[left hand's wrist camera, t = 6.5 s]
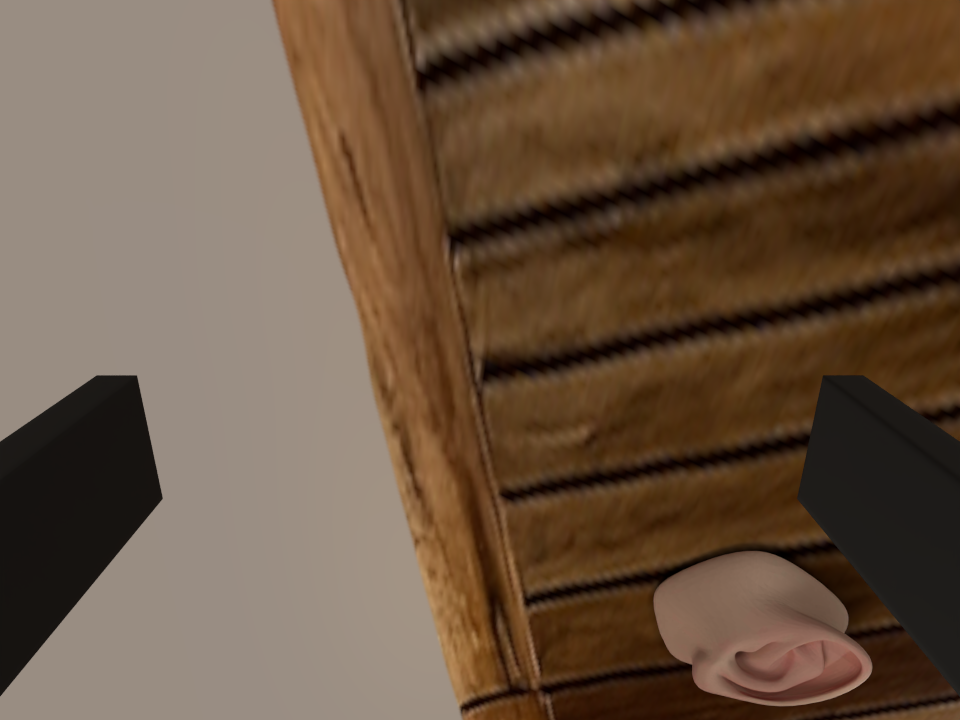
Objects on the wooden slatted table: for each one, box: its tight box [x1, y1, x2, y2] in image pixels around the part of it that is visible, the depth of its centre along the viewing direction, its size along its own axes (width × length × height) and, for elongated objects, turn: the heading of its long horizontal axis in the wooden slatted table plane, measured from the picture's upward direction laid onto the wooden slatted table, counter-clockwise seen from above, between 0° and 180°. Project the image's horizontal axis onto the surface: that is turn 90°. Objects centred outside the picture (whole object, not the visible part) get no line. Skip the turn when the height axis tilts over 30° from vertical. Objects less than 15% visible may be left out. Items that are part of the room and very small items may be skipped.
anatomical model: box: [654, 551, 872, 706], centre depth 43 cm, size 13×4×12 cm
